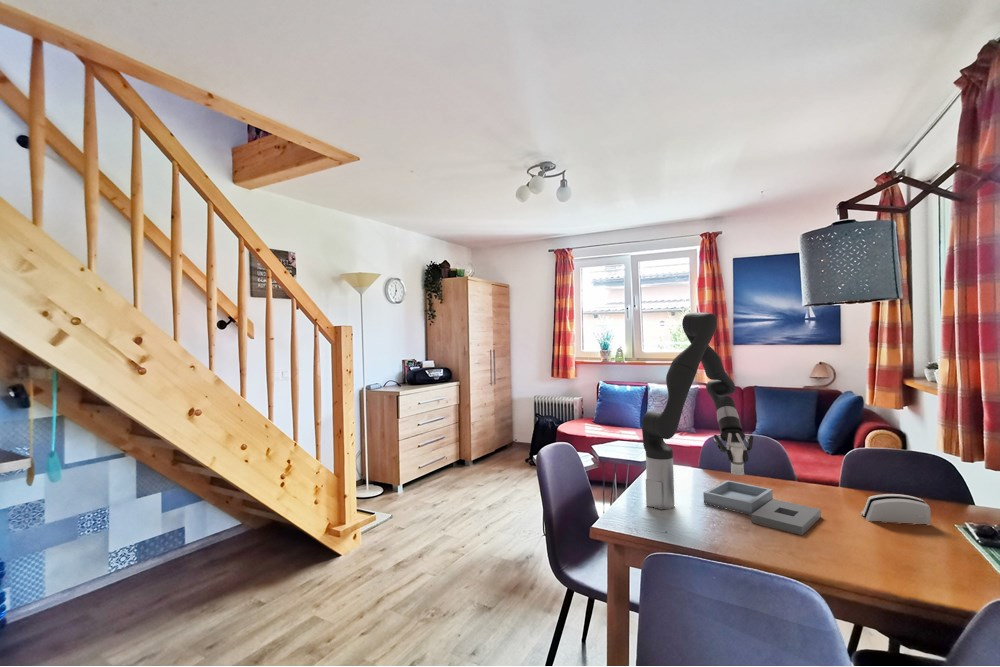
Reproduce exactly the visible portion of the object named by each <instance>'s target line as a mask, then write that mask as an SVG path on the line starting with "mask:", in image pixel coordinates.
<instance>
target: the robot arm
mask: <svg viewBox="0 0 1000 667" xmlns="http://www.w3.org/2000/svg"><path fill="white" fill-rule="evenodd" d="M681 326H682V329H683V333H684V335H685V336H686V338H687V339H688V341H689V343H690V344H689V345H688V346H687V347H686V348H685V349H683V351H681V352H679V354H678V355H676V356H675V358H673V360H672V362H671V363H670V366H669V368H668V371H667V374H666V377H665V383H666V389H667V395H668V396H667V401H666V404H665V407H664V409H663V411H657V410H649V411H646V412H645V414H644V415H643V417H642V420H641V432H642V444H643V445H642V446H643V449H644V451H645V471H646V472H645V473H646V474H645V475H646V476H645V477H646V478H645V502H646V503H645V504H646V505H647V507H649V508H653V507H654V509H657V508H658V509H657V510H660V509H663V510H668V509H669V508H670V509H673V508H675V506H674V505H675V480H674V479H675V478H674V451H673V449H672V448H671V446H669V445H668V444H667V443H666V441H664V440H670V439H672V438H673V437H674V436H675V434H676V433H677V430H678V428H679V424H680V421H681V417H682V413H683V409H684V406H685V403H686V401H687V398H688V395H689V393H690V390H691V386H692V385H693V382H694V380H695V377H696V375H697V373H698V370H699V367H700V364H702V368H703V370H704V373H705V375H706V377H707V379H709V381H708V382H707V383H706V385H705V388H706V392H707V393H708V395H709V396H710V398H711V400H712V401H713V404H714V407H715V412H716V420H717V423H718V427H719V431H720V433H719V434H718V435H717V434H714V435H713V438H712V440H713V442H714V443H715V445H716V446H717V449H718V450H719V451H720V452H722V453H723V452H724V453H725V454H726V458H727V461H729V462H730V463H731V462H733V456H732V452H731V448H730V442H740V443H743V461H744V463H745V464H746V463H747V462H749V455H748V453H751V452H752V449H753V443H754V436H753V435H746V434H745V433H744V432H743V431H744V430H743V427H742V423H741V420H740V416H739V414H738V410H737V408H736V404H735V401H734V398H733V397H732V396H730V395H733V394H734V393H735V391H736V384H735V383H734V381H733V380H732V378H731V377H730V376H729V375H728V373H727V372H726V370H725V368H724V365H723V362H722V359H721V357H720V355H719V354H718V353H717V352H716V351H715V350H714V349H713V348H712V347H711V346H710V343H711V341H712V339H713V337H714V335H715V333H716V330H717V326H718V320H717V316H716V315H715V314H714V313H711V312H693V311H692V312H688V313H686V314H684V316H683V319H682V325H681ZM721 440H722V441H723V442H724V443H725V444H723V442H722V441H721ZM744 440H745V441H746V442H747V446H746V445H745V442H744Z"/></svg>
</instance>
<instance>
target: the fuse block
mask: <svg viewBox="0 0 1000 667" xmlns="http://www.w3.org/2000/svg"><path fill="white" fill-rule="evenodd" d="M821 511H822V510H821V508H817V507H811V506H807V505H803V504H797V503H793V502H789V501H784V500H779V499H774V498H773V499H772V500H771V501H769V502H768V503H767V504H765V505H764V506H762V507H761V508H759V509H758V510H757V511H755V512H754V513H752V514H751V515H750V517H751V518H750V519H751V522H750V523H753V524H756V525H760V526H765V527H768V528H772V529H776V530H781V531H783V532H787V533H792V534H795V535H799V536H803V535H804V534H805V533H806V532H808V531H809V530H810V528H811V527H813V525H814V524H816V523H817V522H818V520H820V519H821V518H822V512H821Z"/></svg>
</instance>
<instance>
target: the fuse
mask: <svg viewBox="0 0 1000 667" xmlns="http://www.w3.org/2000/svg"><path fill="white" fill-rule="evenodd" d="M730 450H731V452H732V456H733V462H730V472H731V473H730V474H731V475H734V476H745V471H744V469H745V468H744V467H745V466H744V465H745V464H744V461H743V443H740V442H730Z"/></svg>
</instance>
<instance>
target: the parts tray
mask: <svg viewBox="0 0 1000 667" xmlns="http://www.w3.org/2000/svg"><path fill="white" fill-rule="evenodd" d="M773 493H774V492H773V488H766V487H763V486H757V485H753V484H748V483H742V482H738V481H733V480H728V479H726V480H724V481H722V482H720V483H719V484H717V485H715V486H713V487H710V488H709V489H707V490H705V491H703V493H702V494H703V504H704V503H707V504H706V505H708V504H711V505H710V506H712V505H715V506H714V507H716V506H719V507H718V508H720V507H723V508H722V509H724V508H727V509H726V510H728V509H731V510H730V511H732V510H735V511H734V512H736V511H738V512H737V513H740V512H742V513H741V514H744V513H745V515H748V516H751V514H752V513H754V512H755V511H757V510H758V509H759V508H761V507H762V506H764V505H765V504H767V503H768V502H769V501H771V500H772V499H774V497H773V496H774V495H773Z"/></svg>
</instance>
